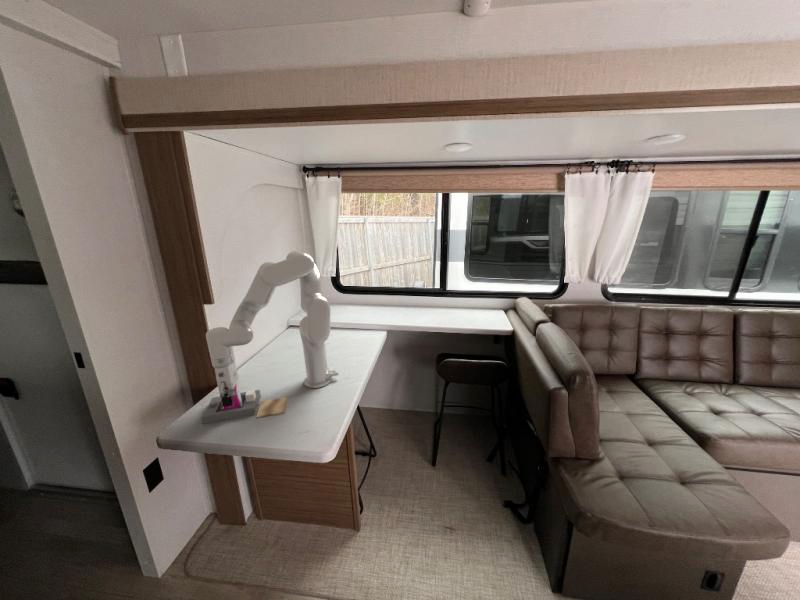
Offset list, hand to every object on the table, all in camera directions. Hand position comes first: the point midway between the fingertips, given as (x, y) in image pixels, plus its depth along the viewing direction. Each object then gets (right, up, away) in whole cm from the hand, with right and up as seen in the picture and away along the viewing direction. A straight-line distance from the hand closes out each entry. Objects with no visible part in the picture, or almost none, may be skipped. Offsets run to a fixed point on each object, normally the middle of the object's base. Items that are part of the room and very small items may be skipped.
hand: (231, 398), depth 117 cm
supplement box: (0, -5, +1) cm, 5 cm away
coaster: (+16, -4, +1) cm, 16 cm away
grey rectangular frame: (0, -5, +1) cm, 5 cm away
